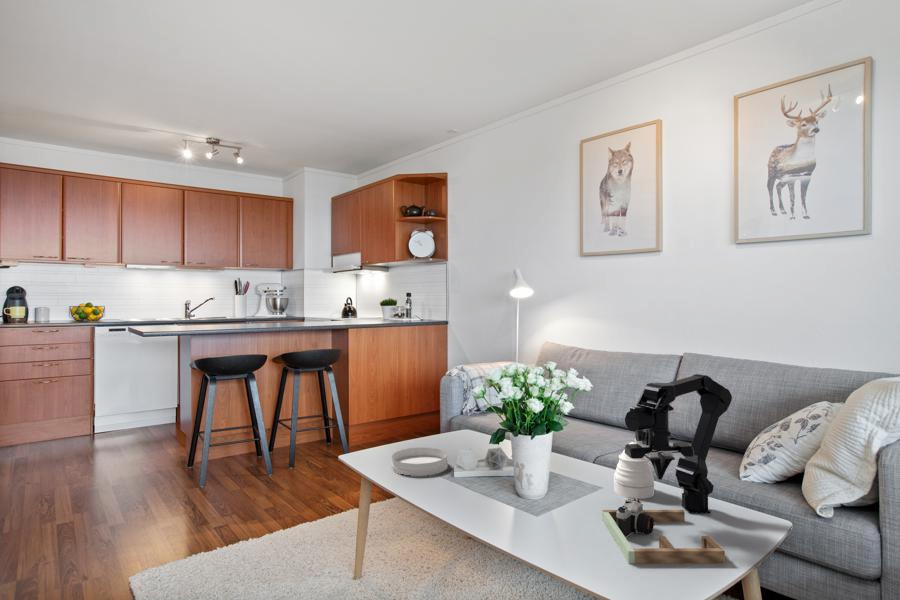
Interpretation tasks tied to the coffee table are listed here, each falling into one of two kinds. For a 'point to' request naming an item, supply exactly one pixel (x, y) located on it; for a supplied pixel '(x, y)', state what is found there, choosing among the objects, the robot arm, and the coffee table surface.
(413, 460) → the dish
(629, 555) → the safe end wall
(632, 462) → the honey pot
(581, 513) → the coffee table surface
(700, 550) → the trap box
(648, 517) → the camera
